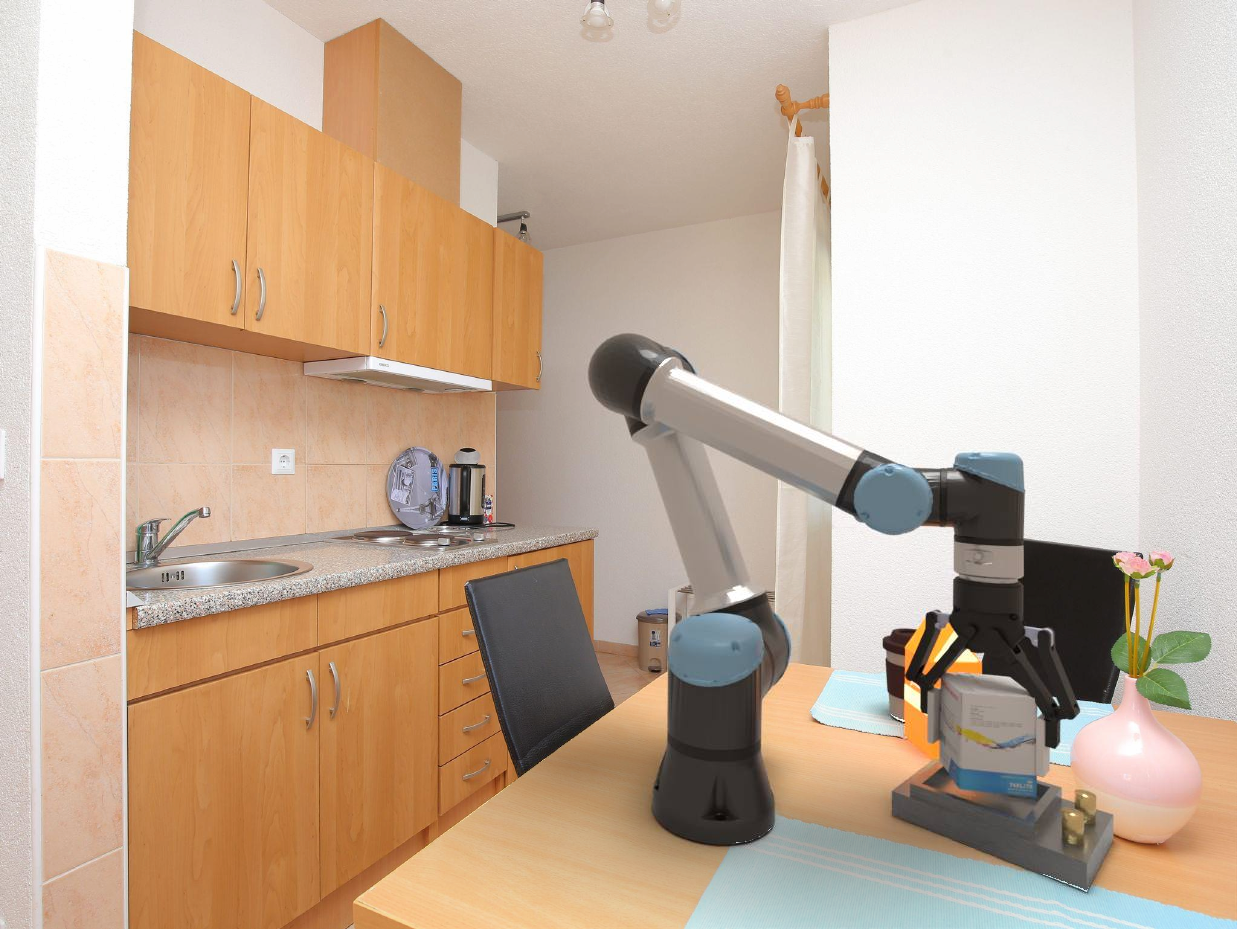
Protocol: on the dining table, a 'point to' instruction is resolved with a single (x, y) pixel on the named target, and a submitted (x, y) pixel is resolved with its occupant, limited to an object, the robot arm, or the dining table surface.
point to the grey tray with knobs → (1012, 823)
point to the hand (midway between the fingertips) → (985, 756)
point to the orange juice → (913, 716)
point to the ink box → (988, 734)
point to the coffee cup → (896, 668)
